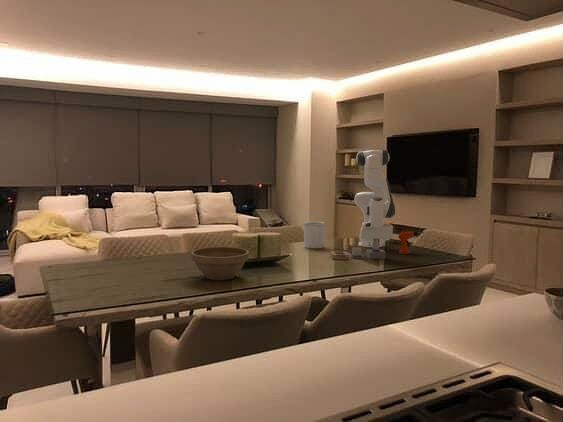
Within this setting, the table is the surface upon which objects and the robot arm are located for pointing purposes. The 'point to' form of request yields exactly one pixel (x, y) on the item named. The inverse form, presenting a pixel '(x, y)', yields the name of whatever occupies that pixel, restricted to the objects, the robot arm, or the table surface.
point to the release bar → (356, 252)
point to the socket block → (376, 254)
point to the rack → (339, 255)
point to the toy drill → (406, 241)
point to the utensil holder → (314, 234)
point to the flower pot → (219, 261)
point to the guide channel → (356, 257)
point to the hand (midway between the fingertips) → (375, 245)
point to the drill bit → (375, 245)
